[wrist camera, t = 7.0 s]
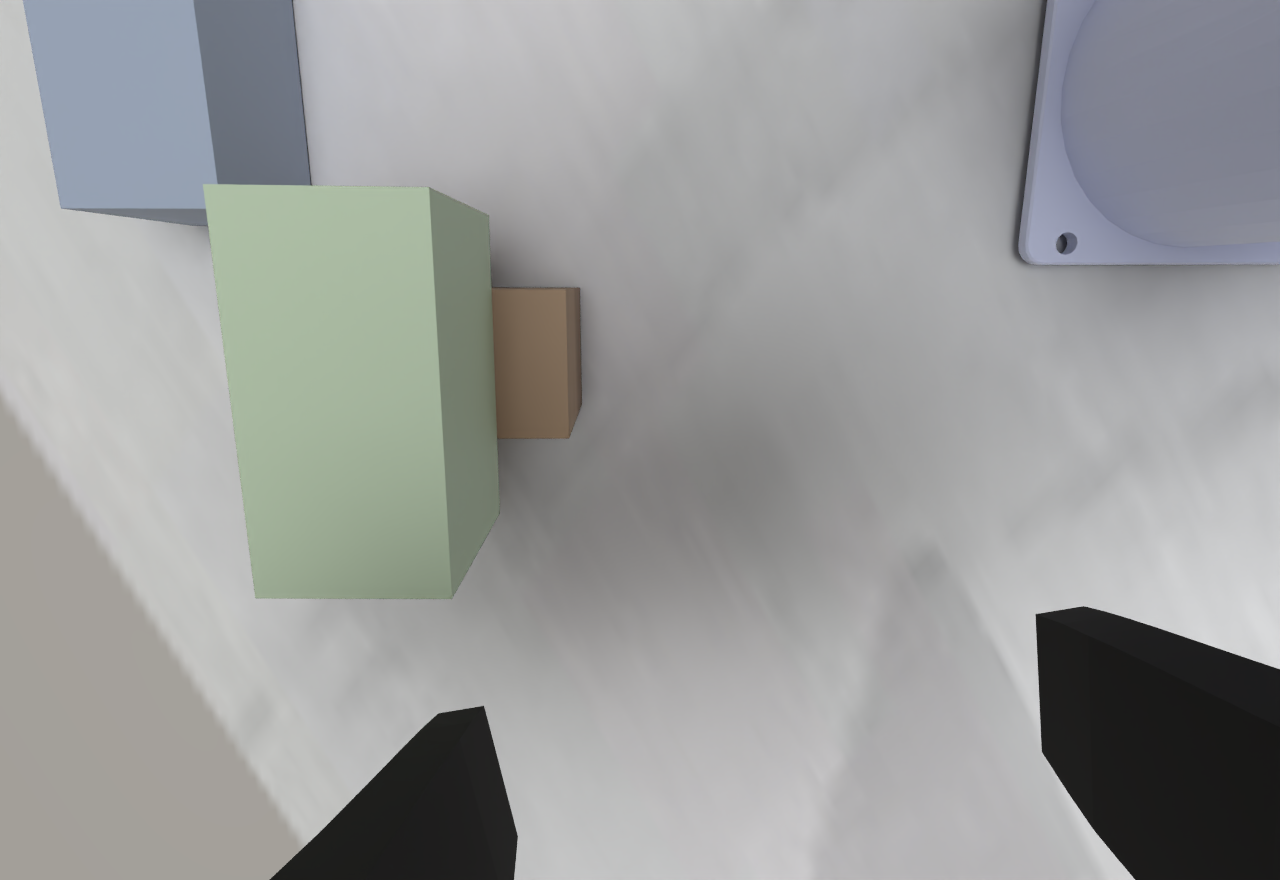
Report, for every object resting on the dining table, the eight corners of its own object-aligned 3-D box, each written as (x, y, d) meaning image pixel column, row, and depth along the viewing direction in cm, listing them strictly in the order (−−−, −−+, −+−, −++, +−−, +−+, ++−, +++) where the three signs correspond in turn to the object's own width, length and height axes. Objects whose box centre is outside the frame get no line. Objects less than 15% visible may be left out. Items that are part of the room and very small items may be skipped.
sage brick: (499, 513, 14) (451, 598, 10) (357, 512, 14) (255, 597, 10) (488, 215, 13) (429, 187, 9) (331, 213, 13) (203, 184, 9)
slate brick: (153, -52, 15) (-7, -164, 12) (286, -51, 15) (171, -162, 12) (192, 225, 17) (60, 208, 13) (314, 225, 17) (220, 208, 13)
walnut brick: (579, 287, 17) (566, 289, 13) (581, 403, 18) (568, 438, 14) (341, 287, 17) (257, 288, 13) (352, 404, 18) (275, 439, 14)
